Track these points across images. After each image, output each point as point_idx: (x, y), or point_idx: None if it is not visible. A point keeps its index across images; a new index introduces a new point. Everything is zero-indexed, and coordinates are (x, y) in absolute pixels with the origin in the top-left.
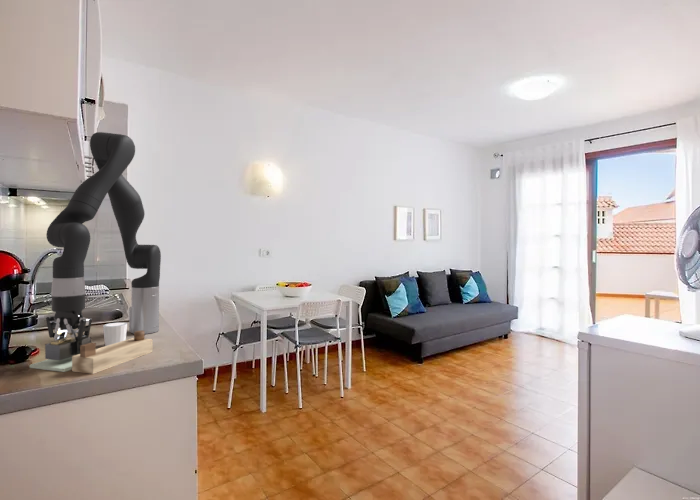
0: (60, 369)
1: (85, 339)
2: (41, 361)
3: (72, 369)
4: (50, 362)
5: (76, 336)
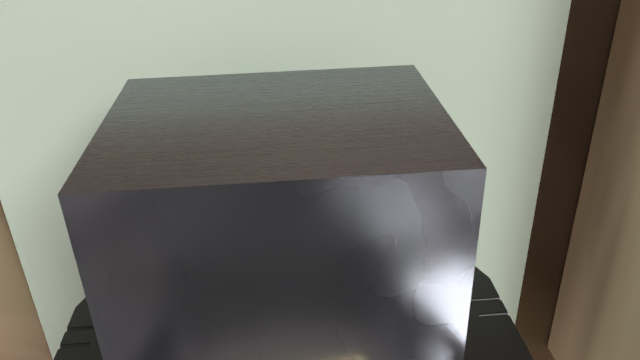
0: None
1: (472, 269)
2: (54, 352)
3: (556, 357)
4: None
5: (73, 217)
